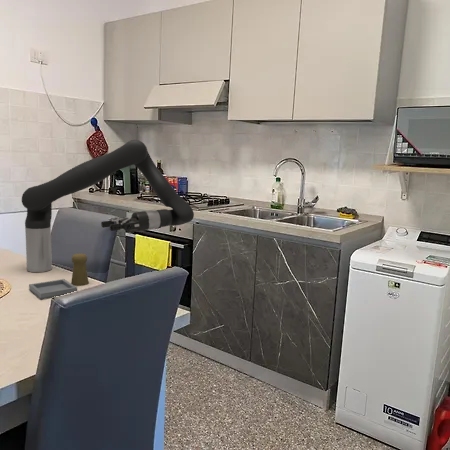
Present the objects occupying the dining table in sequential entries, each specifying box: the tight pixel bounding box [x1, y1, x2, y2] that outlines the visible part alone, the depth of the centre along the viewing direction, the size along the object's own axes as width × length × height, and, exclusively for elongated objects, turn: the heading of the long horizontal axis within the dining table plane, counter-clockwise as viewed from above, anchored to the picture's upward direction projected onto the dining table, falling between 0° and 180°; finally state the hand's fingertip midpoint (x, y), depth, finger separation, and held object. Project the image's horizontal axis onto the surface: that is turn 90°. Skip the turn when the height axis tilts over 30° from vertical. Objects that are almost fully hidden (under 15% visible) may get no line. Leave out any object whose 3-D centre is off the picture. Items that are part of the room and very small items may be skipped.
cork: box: [70, 253, 90, 287], centre depth 160 cm, size 6×6×11 cm
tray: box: [28, 278, 78, 300], centre depth 150 cm, size 12×12×2 cm
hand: (105, 226), depth 163 cm, fingers open, 8 cm apart
